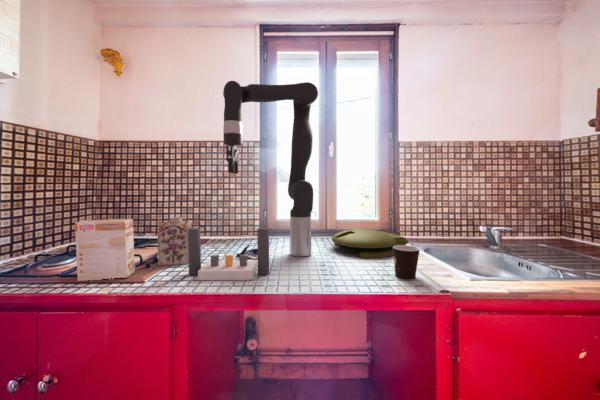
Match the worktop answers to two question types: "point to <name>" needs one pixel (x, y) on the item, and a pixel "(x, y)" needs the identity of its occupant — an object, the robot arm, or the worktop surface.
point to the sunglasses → (249, 252)
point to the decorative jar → (173, 242)
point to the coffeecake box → (104, 249)
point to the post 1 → (194, 251)
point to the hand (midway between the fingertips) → (233, 173)
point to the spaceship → (369, 241)
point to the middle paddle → (229, 260)
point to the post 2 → (263, 251)
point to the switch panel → (228, 269)
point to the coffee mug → (405, 261)
